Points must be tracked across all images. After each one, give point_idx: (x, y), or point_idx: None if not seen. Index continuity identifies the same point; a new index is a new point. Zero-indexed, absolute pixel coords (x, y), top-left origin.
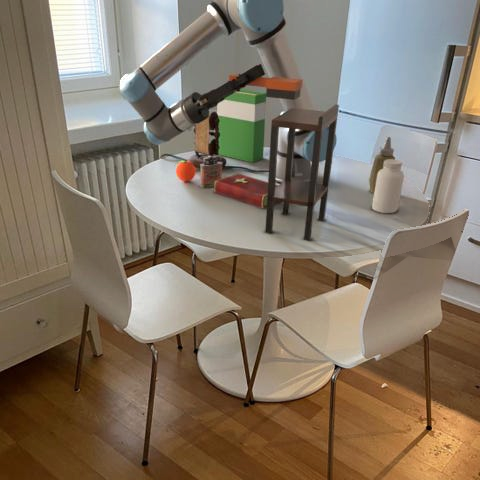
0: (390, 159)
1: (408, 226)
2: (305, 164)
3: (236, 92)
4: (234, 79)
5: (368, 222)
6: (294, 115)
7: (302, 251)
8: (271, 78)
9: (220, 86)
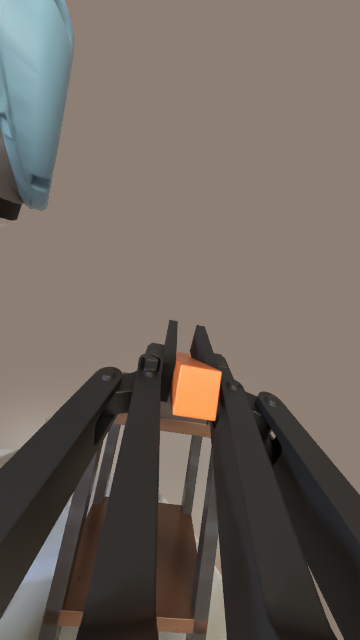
0: (49, 418)
1: (99, 462)
2: None
3: None
4: (234, 381)
5: (90, 497)
6: (168, 407)
7: (221, 577)
8: (177, 353)
9: (321, 450)
